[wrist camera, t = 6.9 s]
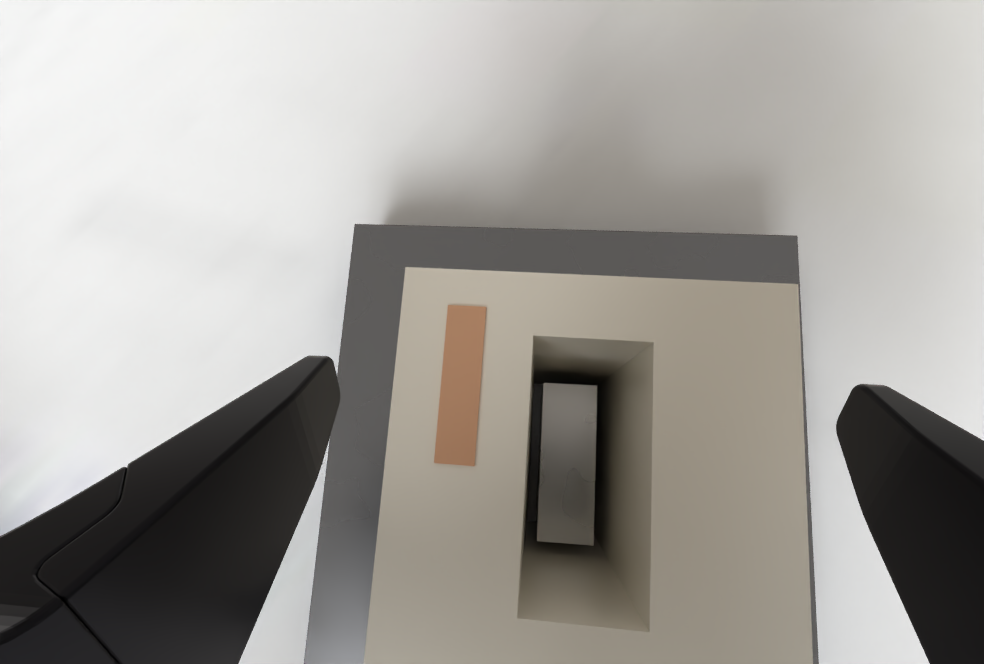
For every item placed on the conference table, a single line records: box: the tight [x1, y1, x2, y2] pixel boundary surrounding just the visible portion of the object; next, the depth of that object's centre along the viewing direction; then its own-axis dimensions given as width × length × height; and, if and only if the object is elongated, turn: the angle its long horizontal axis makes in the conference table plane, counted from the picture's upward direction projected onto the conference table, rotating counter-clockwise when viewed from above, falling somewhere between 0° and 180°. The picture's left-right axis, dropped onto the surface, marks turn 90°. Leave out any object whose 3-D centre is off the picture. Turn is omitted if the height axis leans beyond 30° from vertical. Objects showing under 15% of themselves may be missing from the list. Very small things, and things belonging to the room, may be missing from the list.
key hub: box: [304, 224, 819, 664], centre depth 14 cm, size 14×14×6 cm
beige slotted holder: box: [364, 267, 813, 664], centre depth 11 cm, size 6×6×8 cm
